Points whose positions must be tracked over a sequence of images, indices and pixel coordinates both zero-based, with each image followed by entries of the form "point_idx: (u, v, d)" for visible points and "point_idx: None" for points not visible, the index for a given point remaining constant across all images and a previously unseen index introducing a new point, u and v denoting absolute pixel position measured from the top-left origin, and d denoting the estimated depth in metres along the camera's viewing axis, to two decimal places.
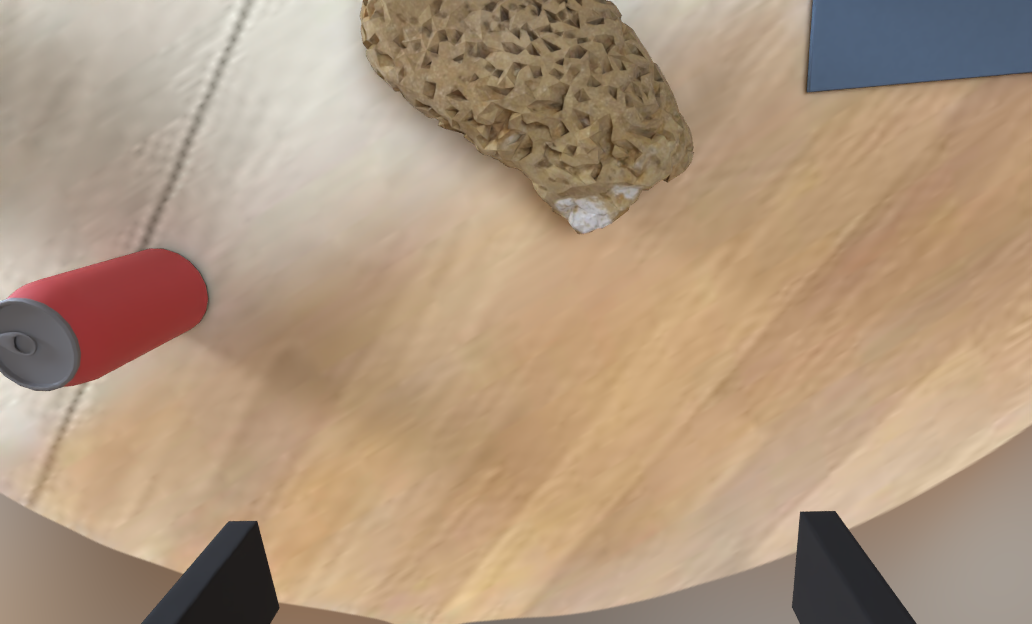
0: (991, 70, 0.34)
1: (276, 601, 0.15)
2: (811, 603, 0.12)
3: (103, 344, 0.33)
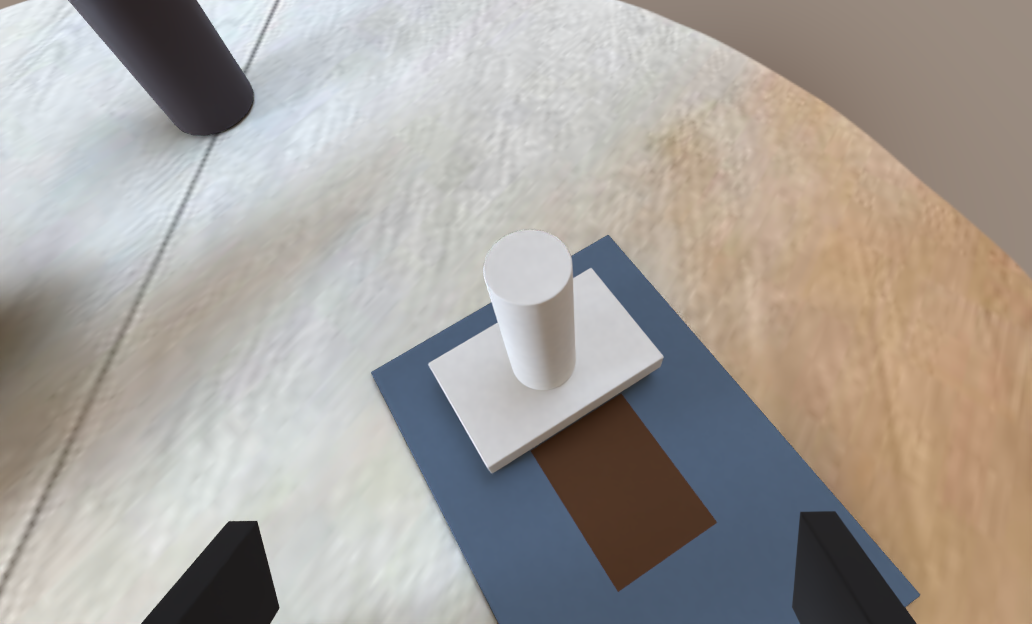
0: None
1: (276, 601, 0.15)
2: (811, 603, 0.12)
3: None
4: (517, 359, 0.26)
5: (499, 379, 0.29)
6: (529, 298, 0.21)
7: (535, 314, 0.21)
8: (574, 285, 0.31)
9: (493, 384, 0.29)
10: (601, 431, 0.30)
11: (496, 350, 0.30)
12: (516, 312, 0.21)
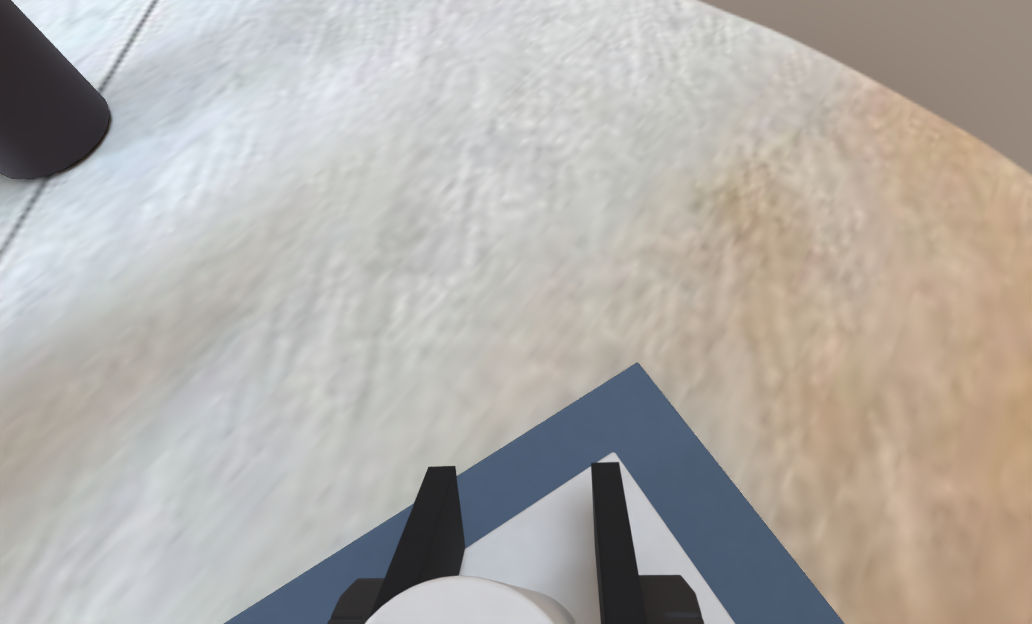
0: None
1: (464, 540, 0.16)
2: None
3: None
4: None
5: None
6: None
7: None
8: (583, 489, 0.17)
9: None
10: None
11: None
12: None
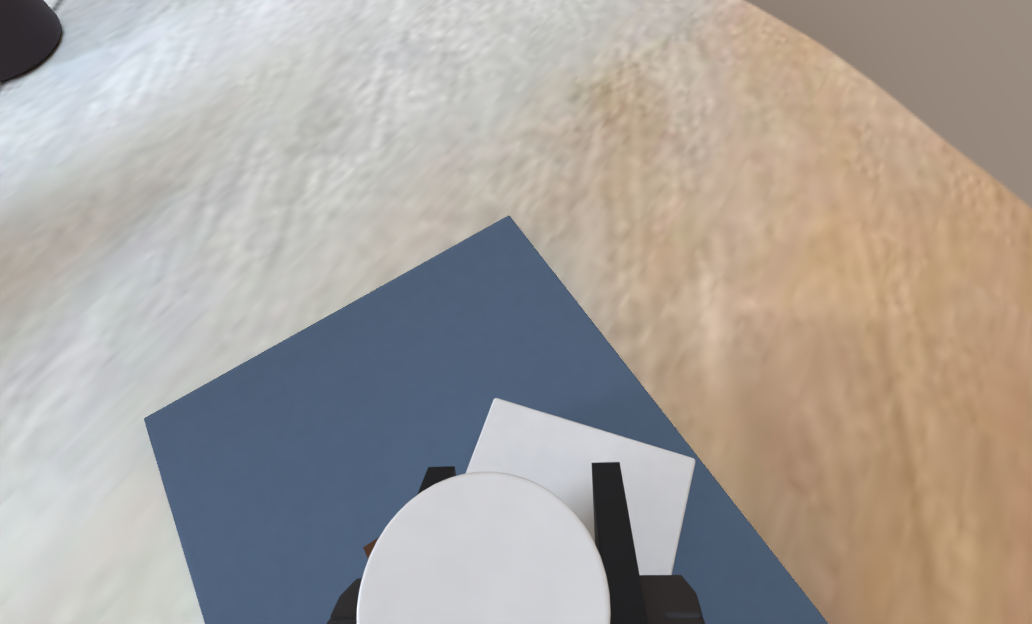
0: None
1: None
2: (595, 537, 0.15)
3: None
4: None
5: None
6: None
7: None
8: (491, 442, 0.18)
9: None
10: None
11: None
12: None
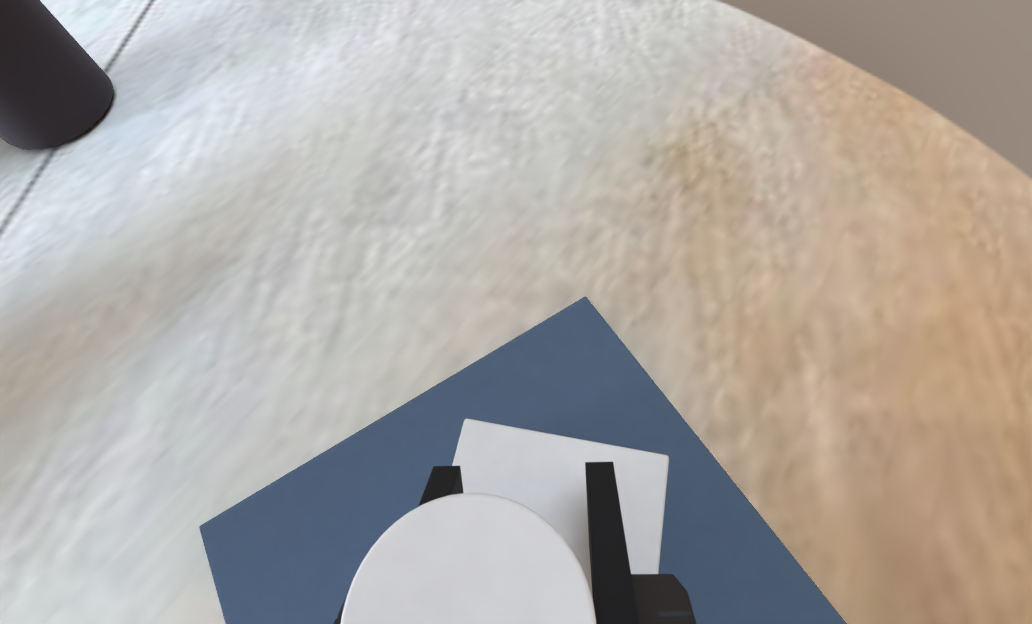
0: None
1: None
2: None
3: None
4: None
5: None
6: None
7: None
8: (466, 463, 0.18)
9: None
10: None
11: None
12: None
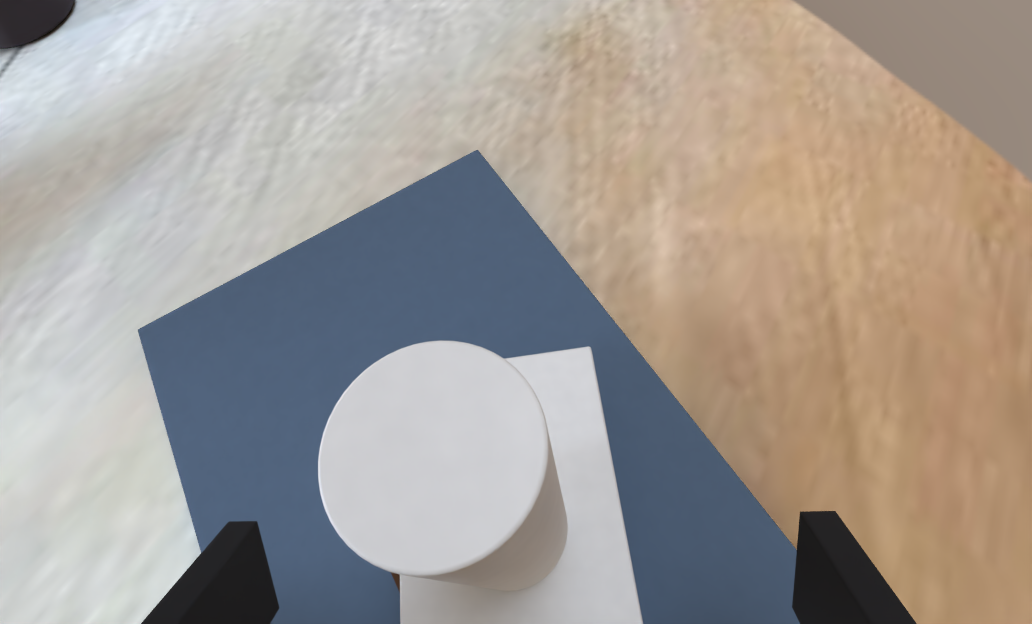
0: None
1: (277, 601, 0.15)
2: (811, 603, 0.12)
3: None
4: (526, 577, 0.13)
5: None
6: (524, 483, 0.08)
7: (547, 491, 0.08)
8: None
9: None
10: None
11: (450, 603, 0.16)
12: (522, 535, 0.08)
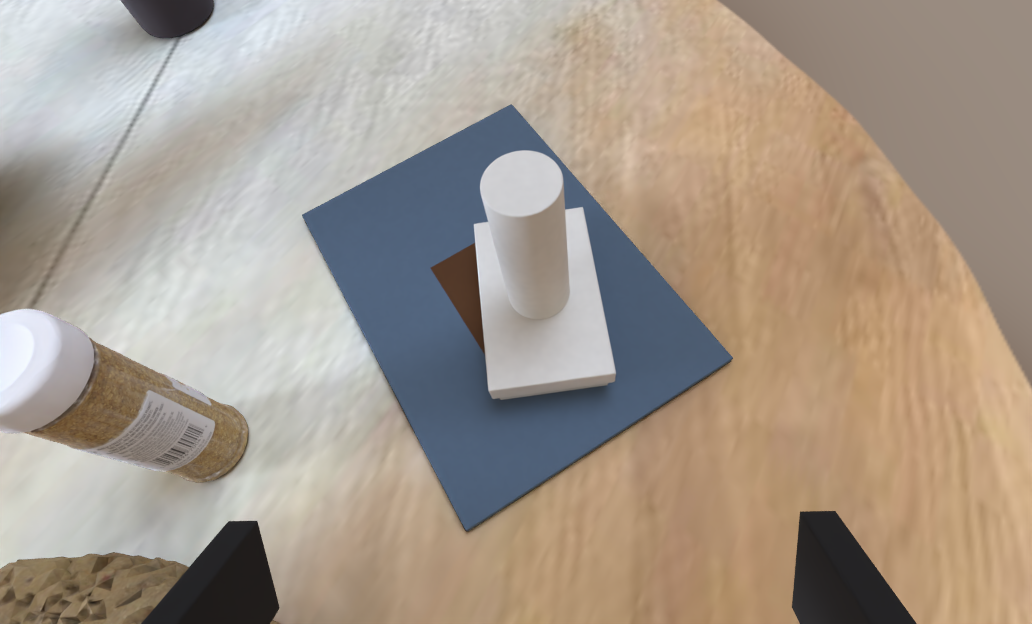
0: (631, 416, 0.30)
1: (276, 601, 0.15)
2: (811, 603, 0.12)
3: None
4: (550, 283, 0.27)
5: (538, 334, 0.30)
6: (555, 190, 0.22)
7: (562, 201, 0.23)
8: (483, 242, 0.33)
9: (541, 340, 0.30)
10: None
11: (509, 326, 0.30)
12: (554, 213, 0.23)
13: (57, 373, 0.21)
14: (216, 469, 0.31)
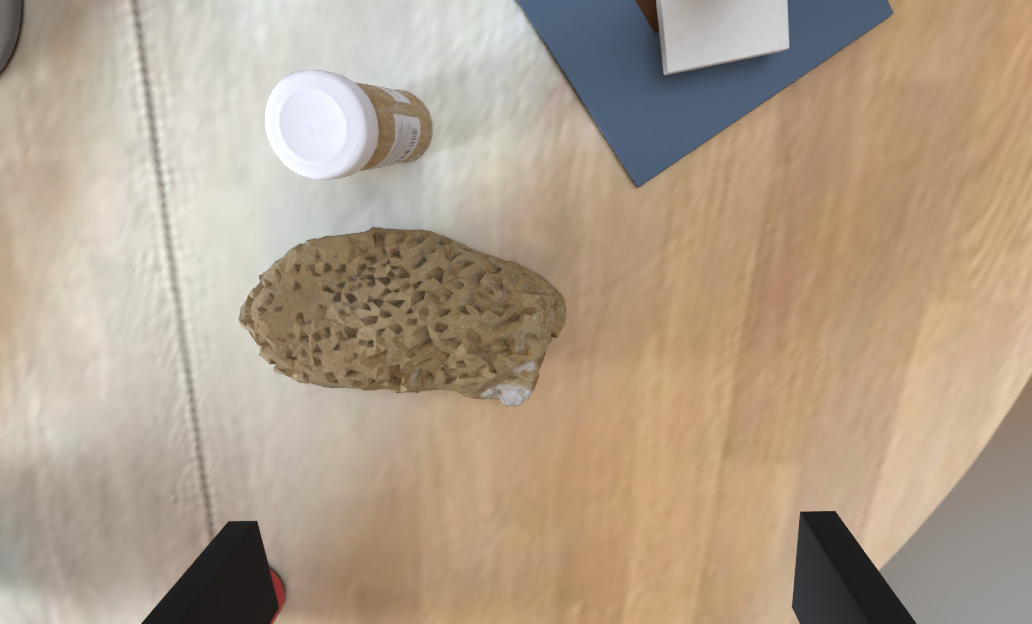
0: (785, 81, 0.34)
1: (276, 601, 0.15)
2: (811, 603, 0.12)
3: None
4: None
5: (717, 7, 0.30)
6: None
7: None
8: None
9: (719, 14, 0.31)
10: None
11: None
12: None
13: (369, 132, 0.24)
14: (418, 152, 0.36)
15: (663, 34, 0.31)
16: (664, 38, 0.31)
